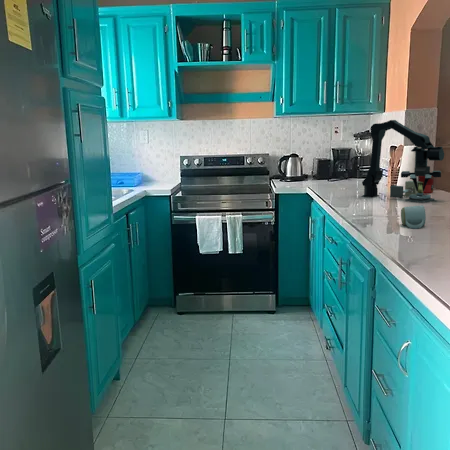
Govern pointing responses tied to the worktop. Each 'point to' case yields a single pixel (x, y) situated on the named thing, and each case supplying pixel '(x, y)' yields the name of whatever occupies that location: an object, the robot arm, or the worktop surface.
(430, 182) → the canned food
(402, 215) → the ceramic mug
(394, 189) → the block-headed metal hammer
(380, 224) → the worktop surface
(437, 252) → the worktop surface
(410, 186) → the grey-green hollow piece
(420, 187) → the handwheel
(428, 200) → the wheel base
